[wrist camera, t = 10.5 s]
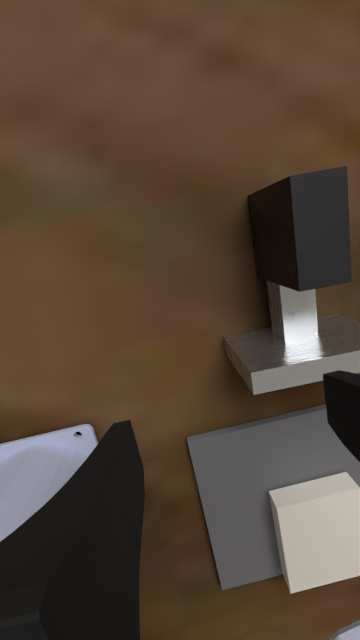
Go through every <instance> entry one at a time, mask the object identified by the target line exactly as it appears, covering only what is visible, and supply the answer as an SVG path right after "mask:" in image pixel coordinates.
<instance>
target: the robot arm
mask: <svg viewBox="0 0 360 640" xmlns="http://www.w3.org/2000/svg"><path fill="white" fill-rule="evenodd" d="M323 381H324V391H325V401H326V411H327V420H328V424H329V425H330V427H331V428H332V430H333V431H334V432H335V434H336V435H337V437H338V438H339V439H340V441H341V442H342V443H343V445H344V446H345V447H346V448H347V449H348V450H349V451H350V452H351V454H352V455H353V456H354V457H355V458H356V459H357V460H358V461H359V462H360V375H359V374H355V373H351V372H346V371H340V370H338V371H334V372H329V373H325V374H323ZM76 432H81V433H82V435H77V434H76ZM144 497H145V491H144V470H143V464H142V461H141V457H140V454H139V450H138V447H137V443H136V439H135V436H134V432H133V429H132V425H131V422H130V420H127V421H123V422H118V423H114V424H113V425H112V426H111V427H110V428H109V430H108V431H107V432H106V434H105V435H104V437H103V438H102V439H101V441H100V442H99V443H98V441H97V437H96V434H95V431H94V428H93V427H92V426H91V425H89V424H83V425H79V426H74V427H70V428H66V429H62V430H58V431H53V432H49V433H45V434H41V435H36V436H32V437H28V438H24V439H19V440H15V441H11V442H7V443H2V444H0V640H140V624H139V562H140V549H141V537H142V524H143V511H144ZM330 640H360V620H359V621H356V622H354V623H352V624H350V625H348V626H346V627H344V628H342V629H340V630H338V631H337V632H336V633H335V634H334V635H333V636H332V637H331V639H330Z"/></svg>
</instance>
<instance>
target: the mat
mask: <svg viewBox="0 0 360 640" xmlns="http://www.w3.org/2000/svg"><path fill="white" fill-rule="evenodd" d="M187 442H188V446H189V451H190V455H191V459H192V463H193V468H194V472H195V476H196V481H197V485H198V489H199V493H200V498H201V502H202V506H203V510H204V515H205V519H206V523H207V528H208V532H209V536H210V540H211V545H212V549H213V553H214V557H215V562H216V566H217V570H218V574H219V579H220V583H221V587H222V590H225V589H229V588H233V587H237V586H241V585H245V584H249V583H252V582H256V581H260V580H264V579H268V578H272V577H276V576H279V575H283V573H282V568H281V562H280V556H279V550H278V545H277V539H276V533H275V527H274V521H273V515H272V509H271V503H270V497H269V491H271V490H275V489H279V488H283V487H287V486H291V485H295V484H299V483H303V482H307V481H311V480H315V479H319V478H323V477H327V476H331V475H335V474H339V473H343V472H347V473H348V474H349V476H350V477H351V478H352V479H353V480H354V481H355V483H356V484H357V485H358V486H359V487H360V462H359V461H358V460H357V459H356V458H355V457H354V456H353V455H352V454H351V452H350V451H349V450H348V449H347V448H346V447H345V446H344V445H343V443H342V442H341V441H340V439H339V438H338V437H337V435H336V434H335V432H334V431H333V430H332V428H331V427H330V425H329V424H328V420H327V411H326V404H323V405H319V406H315V407H311V408H307V409H302V410H298V411H294V412H290V413H286V414H282V415H277V416H273V417H269V418H265V419H261V420H257V421H253V422H248V423H244V424H240V425H236V426H232V427H228V428H223V429H219V430H215V431H211V432H207V433H203V434H198V435H194V436H190V437H187Z"/></svg>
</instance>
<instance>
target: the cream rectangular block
mask: <svg viewBox="0 0 360 640" xmlns="http://www.w3.org/2000/svg"><path fill="white" fill-rule="evenodd" d="M269 497H270V503H271V509H272V515H273V521H274V527H275V533H276V539H277V545H278V550H279V556H280V562H281V568H282V573H283V576H284V578H285V581H286V583H287V586H288V588H289V591H290V593H295V592H299V591H303V590H306V589H310V588H314V587H318V586H322V585H326V584H329V583H333V582H337V581H341V580H345V579H348V578H352V577H356V576H360V487H359V486H358V485H357V484H356V483H355V481H354V480H353V479H352V478H351V477H350V476H349V474H348V473H347V472H343V473H339V474H335V475H331V476H327V477H323V478H319V479H315V480H311V481H307V482H303V483H299V484H295V485H291V486H287V487H283V488H279V489H275V490H271V491H269Z"/></svg>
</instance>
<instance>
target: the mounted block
mask: <svg viewBox="0 0 360 640" xmlns="http://www.w3.org/2000/svg"><path fill="white" fill-rule="evenodd" d="M248 203H249V212H250V220H251V229H252V237H253V246H254V254H255V263H256V272H257V278H260V279H263V280H266V281H267V288H268V297H269V306H270V316H271V325H272V327H270V328H265V329H260V330H255V331H250V332H245V333H240V334H235V335H230V336H225V337H223V338H224V345H225V352H226V355H227V356H228V358H229V359H230V361H231V362H232V363H233V365H234V366H235V368H236V369H237V371H238V372H239V374H240V375H241V377H242V378H243V380H244V381H245V383H246V384H247V386H248V387H249V389H250V390H251V392H252V393H253V395H256V394H261V393H266V392H270V391H275V390H280V389H285V388H289V387H294V386H299V385H304V384H308V383H313V382H318V381H323V374H325V373H329V372H334V371H338V370H340V371H346V372H351V373H355V374H356V373H360V322H358V321H356V320H353V319H350V318H348V317H345V316H343V315H340V314H335V315H330V316H325V317H320V318H317V310H316V296H315V289H317V288H322V287H327V286H332V285H337V284H342V283H347V282H351V258H350V233H349V209H348V184H347V166H344V167H338V168H333V169H327V170H322V171H316V172H311V173H305V174H299V175H294V176H289V177H287V178H285V179H283V180H281V181H279V182H276V183H274V184H272V185H270V186H268V187H266V188H263V189H261V190H259V191H257V192H255V193H253V194H250V195H248Z"/></svg>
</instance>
